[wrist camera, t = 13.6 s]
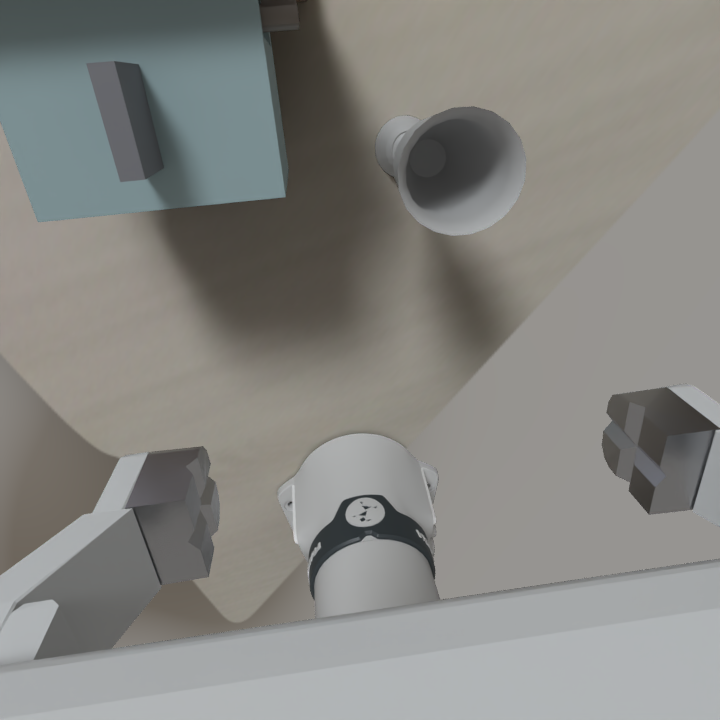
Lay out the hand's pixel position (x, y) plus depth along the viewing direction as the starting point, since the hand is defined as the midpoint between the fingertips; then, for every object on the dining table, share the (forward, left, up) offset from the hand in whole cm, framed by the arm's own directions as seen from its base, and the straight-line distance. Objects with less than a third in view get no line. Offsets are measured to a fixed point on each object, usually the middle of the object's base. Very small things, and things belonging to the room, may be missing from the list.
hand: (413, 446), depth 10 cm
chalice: (+2, -7, -39) cm, 40 cm away
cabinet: (+7, +10, -34) cm, 36 cm away
